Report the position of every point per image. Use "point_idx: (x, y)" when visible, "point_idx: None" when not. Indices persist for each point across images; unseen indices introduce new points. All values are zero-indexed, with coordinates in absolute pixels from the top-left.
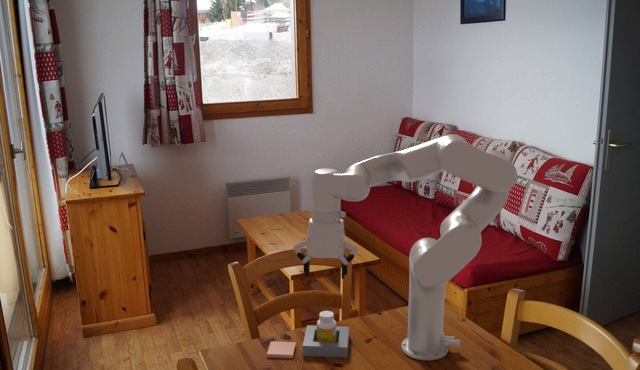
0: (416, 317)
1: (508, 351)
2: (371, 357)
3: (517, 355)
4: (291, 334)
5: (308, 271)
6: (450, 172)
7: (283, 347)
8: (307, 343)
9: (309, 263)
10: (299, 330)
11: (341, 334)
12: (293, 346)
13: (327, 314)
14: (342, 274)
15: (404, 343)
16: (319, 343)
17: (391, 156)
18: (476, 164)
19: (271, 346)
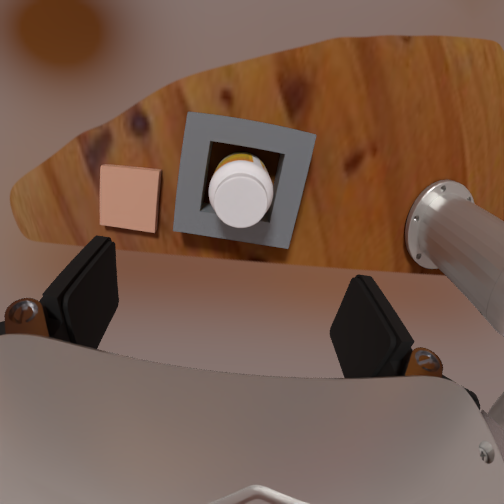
0: (464, 293)
1: None
2: (338, 241)
3: None
4: (151, 109)
5: (105, 330)
6: None
7: (130, 197)
8: (185, 220)
9: (80, 292)
10: (173, 86)
11: (286, 179)
12: (153, 193)
13: (243, 208)
14: (339, 355)
15: (418, 212)
16: (217, 222)
17: None
18: None
19: (104, 191)
